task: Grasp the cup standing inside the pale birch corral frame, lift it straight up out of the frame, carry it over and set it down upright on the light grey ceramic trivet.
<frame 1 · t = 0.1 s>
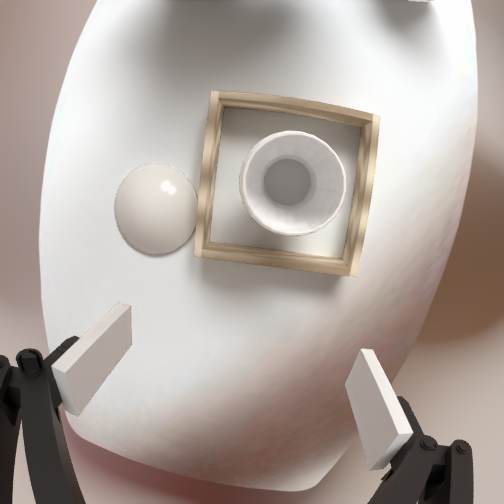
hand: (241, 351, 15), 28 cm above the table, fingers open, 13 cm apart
corral: (286, 181, 39), on the table
cup: (286, 181, 40), resting in corral
trivet: (154, 208, 41), on the table
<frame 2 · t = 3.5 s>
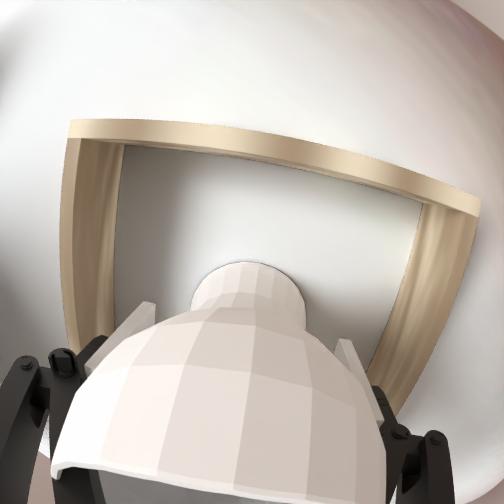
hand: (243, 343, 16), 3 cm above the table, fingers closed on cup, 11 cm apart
corral: (247, 317, 19), on the table
cup: (248, 315, 19), resting in corral, touching gripper
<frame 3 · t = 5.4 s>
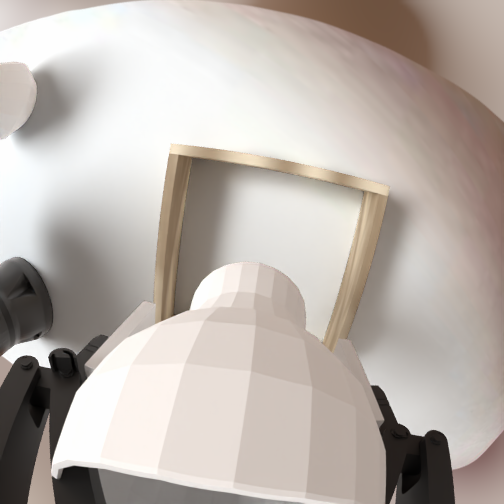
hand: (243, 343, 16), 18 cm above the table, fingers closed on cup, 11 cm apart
cup 2: (21, 103, 30), on the table
corral: (262, 257, 33), on the table
cup: (248, 315, 19), point 15 cm above the table, touching gripper
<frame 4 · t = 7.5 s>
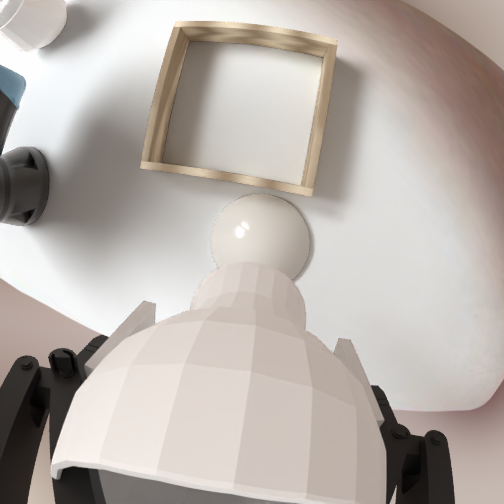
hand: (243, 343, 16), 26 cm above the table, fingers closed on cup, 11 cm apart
cup 2: (51, 29, 32), on the table
corral: (242, 104, 36), on the table
cup: (248, 314, 19), point 22 cm above the table, touching gripper
trivet: (259, 243, 40), on the table
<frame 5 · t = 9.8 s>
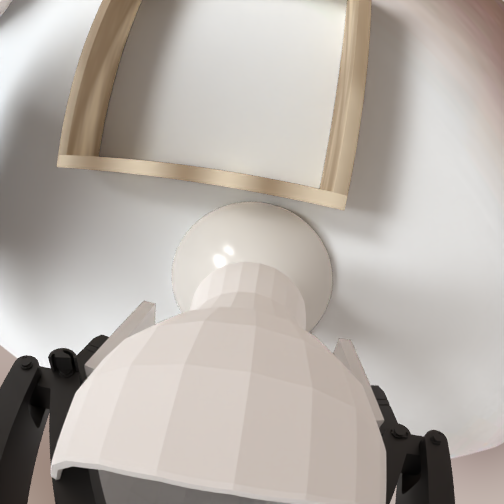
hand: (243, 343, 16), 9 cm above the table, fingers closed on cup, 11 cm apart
cup 2: (1, 5, 16), on the table
corral: (221, 57, 20), on the table
cup: (248, 315, 19), point 6 cm above the table, touching gripper
trivet: (251, 283, 25), on the table
when the fingers open (5 cm above the table, at t = 11.6 s): cup drops 1 cm, resting on trivet.
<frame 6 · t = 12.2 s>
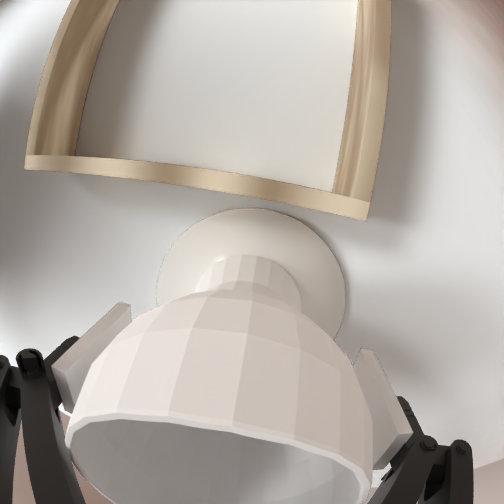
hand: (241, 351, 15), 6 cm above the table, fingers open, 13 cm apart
corral: (214, 38, 16), on the table
cup: (246, 305, 20), resting on trivet
trivet: (249, 304, 21), on the table
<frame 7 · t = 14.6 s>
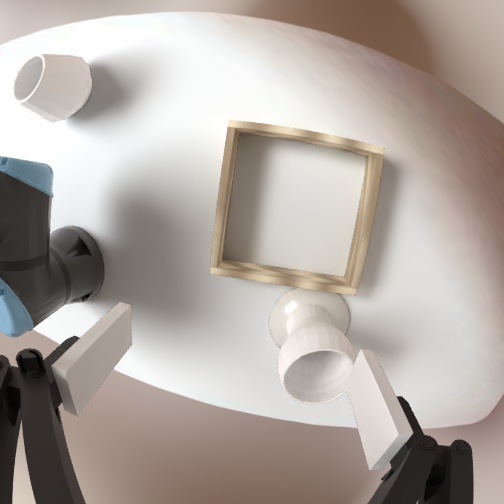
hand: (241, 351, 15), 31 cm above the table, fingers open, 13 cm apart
cup 2: (75, 92, 40), on the table
corral: (295, 206, 43), on the table
cup: (308, 323, 47), resting on trivet
trivet: (309, 322, 48), on the table
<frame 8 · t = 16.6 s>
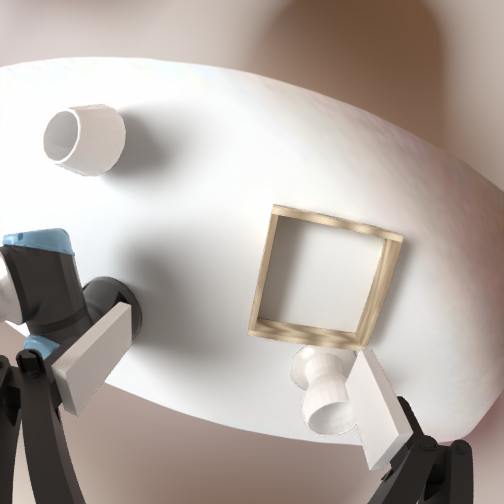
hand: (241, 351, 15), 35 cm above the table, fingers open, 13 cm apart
cup 2: (105, 142, 46), on the table
corral: (321, 277, 50), on the table
cup: (323, 367, 54), resting on trivet
trivet: (323, 366, 55), on the table
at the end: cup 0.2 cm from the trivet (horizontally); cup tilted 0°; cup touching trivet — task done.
